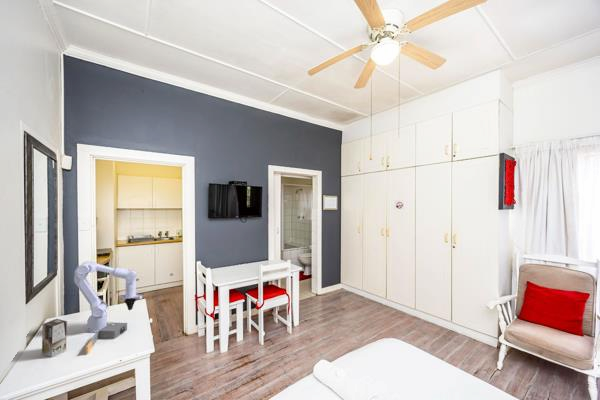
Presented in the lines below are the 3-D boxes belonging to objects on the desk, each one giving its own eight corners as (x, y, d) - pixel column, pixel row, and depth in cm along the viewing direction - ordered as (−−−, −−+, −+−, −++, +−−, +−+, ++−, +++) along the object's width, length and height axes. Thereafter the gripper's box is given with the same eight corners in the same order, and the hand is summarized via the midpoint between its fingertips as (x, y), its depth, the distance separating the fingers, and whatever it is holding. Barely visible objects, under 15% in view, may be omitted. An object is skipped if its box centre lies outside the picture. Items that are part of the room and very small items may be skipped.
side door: (96, 338, 144) (96, 331, 144) (98, 337, 144) (98, 331, 144) (85, 354, 129) (85, 346, 129) (88, 353, 129) (88, 346, 129)
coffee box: (66, 350, 132) (67, 321, 132) (51, 357, 126) (52, 326, 126) (56, 347, 135) (57, 318, 135) (41, 353, 129) (41, 323, 129)
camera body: (98, 338, 144) (98, 330, 144) (111, 329, 154) (111, 321, 154) (115, 338, 144) (115, 330, 144) (128, 330, 154) (128, 322, 154)
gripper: (145, 287, 166) (144, 307, 166) (124, 286, 167) (124, 306, 166) (138, 291, 159) (137, 311, 159) (116, 290, 159) (116, 311, 159)
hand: (130, 309), depth 162 cm, fingers closed
